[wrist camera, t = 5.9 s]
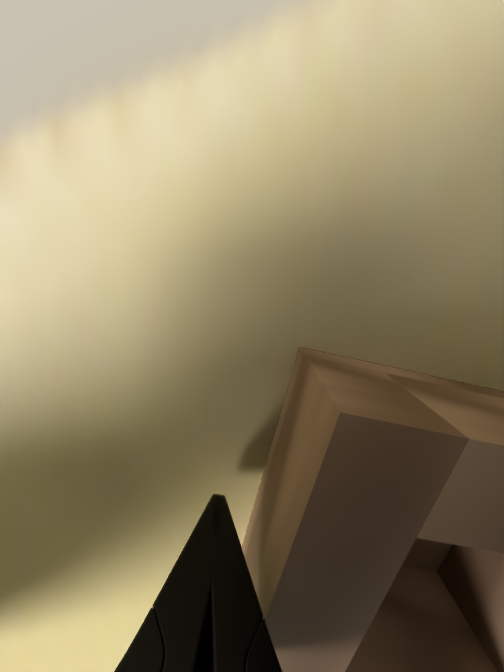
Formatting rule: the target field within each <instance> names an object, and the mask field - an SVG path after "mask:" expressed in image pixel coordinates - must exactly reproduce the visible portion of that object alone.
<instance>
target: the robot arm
mask: <svg viewBox="0 0 504 672" xmlns="http://www.w3.org/2000/svg"><path fill="white" fill-rule="evenodd" d="M114 672H283V671H282V669H281V666H280V663H279V660H278V658H277V655H276V652H275V649H274V646H273V643H272V640H271V637H270V634H269V631H268V628H267V625H266V622H265V619H263V613H262V610H261V607H260V603H259V600H258V597H257V594H256V591H255V588H254V585H253V582H252V579H251V575H250V572H249V569H248V566H247V563H246V560H245V557H244V554H243V550H242V547H241V544H240V541H239V538H238V535H237V532H236V529H235V526H234V522H233V519H232V516H231V513H230V510H229V507H228V504H227V501H226V498H225V496H224V495H220V494H213V495H212V497H211V499H210V500H209V502H208V504H207V506H206V508H205V510H204V512H203V513H202V515H201V517H200V519H199V521H198V523H197V524H196V526H195V528H194V530H193V532H192V534H191V536H190V537H189V539H188V541H187V543H186V545H185V547H184V548H183V550H182V552H181V554H180V556H179V558H178V560H177V561H176V563H175V565H174V567H173V569H172V571H171V572H170V574H169V576H168V578H167V580H166V582H165V584H164V585H163V587H162V589H161V591H160V593H159V595H158V596H157V598H156V600H155V602H154V604H153V607H152V608H151V609H150V611H149V613H148V615H147V616H146V618H145V620H144V622H143V624H142V626H141V627H140V629H139V631H138V633H137V634H136V636H135V638H134V640H133V641H132V643H131V645H130V647H129V648H128V650H127V652H126V654H125V655H124V657H123V658H122V660H121V662H120V663H119V665H118V666H117V668H116V670H115V671H114Z"/></svg>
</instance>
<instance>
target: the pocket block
mask: <svg viewBox="0 0 504 672" xmlns="http://www.w3.org/2000/svg"><path fill="white" fill-rule="evenodd" d="M242 550H243V554H244V557H245V560H246V563H247V566H248V569H249V572H250V575H251V579H252V582H253V585H254V588H255V591H256V594H257V597H258V600H259V603H260V607H261V610H262V613H263V619H265V622H266V625H267V628H268V631H269V634H270V637H271V640H272V643H273V646H274V649H275V652H276V655H277V658H278V660H279V663H280V666H281V669H282V671H283V672H504V392H503V391H499V390H494V389H490V388H485V387H480V386H476V385H471V384H467V383H462V382H458V381H453V380H448V379H444V378H439V377H435V376H430V375H425V374H421V373H416V372H412V371H407V370H403V369H398V368H393V367H389V366H384V365H380V364H375V363H370V362H366V361H361V360H357V359H352V358H348V357H343V356H338V355H334V354H329V353H325V352H320V351H316V350H311V349H306V348H302V347H300V348H299V352H298V355H297V359H296V362H295V366H294V369H293V373H292V376H291V379H290V383H289V386H288V390H287V393H286V397H285V400H284V404H283V407H282V410H281V414H280V417H279V421H278V424H277V428H276V431H275V435H274V438H273V441H272V445H271V448H270V452H269V455H268V459H267V462H266V466H265V469H264V472H263V476H262V479H261V483H260V486H259V490H258V493H257V497H256V500H255V503H254V507H253V510H252V514H251V517H250V521H249V524H248V527H247V531H246V534H245V538H244V541H243V545H242Z"/></svg>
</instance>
